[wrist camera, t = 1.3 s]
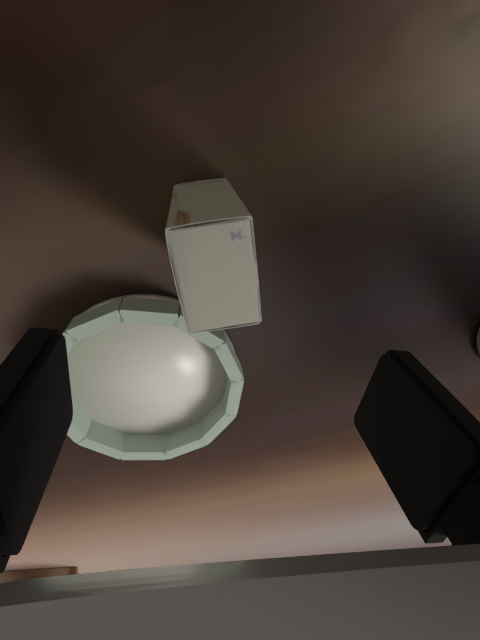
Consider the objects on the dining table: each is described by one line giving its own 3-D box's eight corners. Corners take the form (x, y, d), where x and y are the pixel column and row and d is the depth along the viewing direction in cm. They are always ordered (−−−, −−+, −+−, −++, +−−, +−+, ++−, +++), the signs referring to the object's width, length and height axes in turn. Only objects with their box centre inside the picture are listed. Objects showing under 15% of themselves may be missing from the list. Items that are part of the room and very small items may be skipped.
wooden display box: (77, 566, 50) (67, 603, 46) (83, 611, 57) (75, 646, 53) (-36, 573, 47) (-57, 613, 43) (-15, 620, 54) (-31, 657, 50)
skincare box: (171, 183, 26) (159, 220, 15) (227, 176, 26) (253, 207, 15) (187, 262, 29) (186, 338, 18) (237, 255, 29) (263, 325, 18)
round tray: (250, 302, 32) (256, 320, 29) (224, 435, 40) (227, 459, 37) (44, 284, 28) (27, 302, 25) (63, 433, 37) (52, 460, 34)
